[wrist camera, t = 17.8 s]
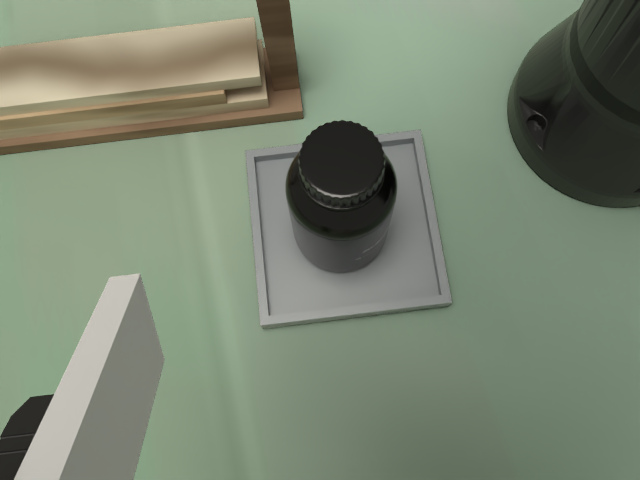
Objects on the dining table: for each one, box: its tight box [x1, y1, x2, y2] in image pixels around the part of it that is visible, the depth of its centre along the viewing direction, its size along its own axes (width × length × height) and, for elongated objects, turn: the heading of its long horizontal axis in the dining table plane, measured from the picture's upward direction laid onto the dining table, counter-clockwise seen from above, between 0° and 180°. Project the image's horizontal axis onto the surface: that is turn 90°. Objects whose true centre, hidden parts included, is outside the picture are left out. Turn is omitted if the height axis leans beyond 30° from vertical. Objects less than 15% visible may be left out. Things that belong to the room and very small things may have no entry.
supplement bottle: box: [285, 120, 397, 272], centre depth 39 cm, size 7×7×12 cm
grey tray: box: [245, 130, 452, 329], centre depth 45 cm, size 13×13×2 cm
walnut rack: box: [0, 0, 303, 155], centre depth 41 cm, size 6×27×18 cm, turn 97°
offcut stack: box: [0, 17, 269, 140], centre depth 46 cm, size 5×21×4 cm, turn 97°
